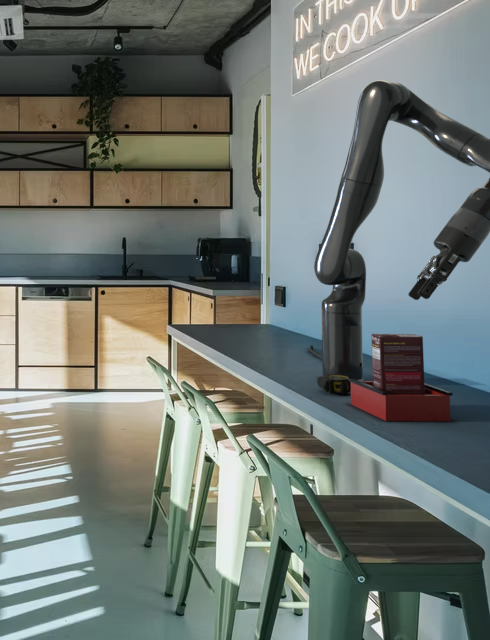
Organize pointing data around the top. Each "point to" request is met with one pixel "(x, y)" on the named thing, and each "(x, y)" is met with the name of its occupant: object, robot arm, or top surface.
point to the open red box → (401, 403)
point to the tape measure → (334, 383)
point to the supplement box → (398, 363)
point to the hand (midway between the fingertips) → (417, 297)
